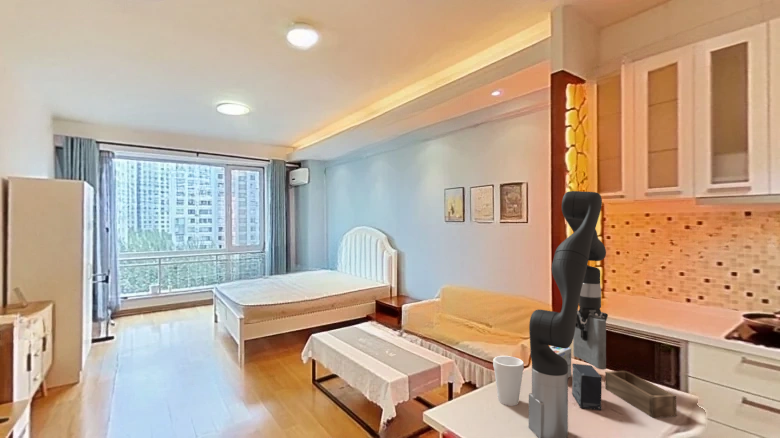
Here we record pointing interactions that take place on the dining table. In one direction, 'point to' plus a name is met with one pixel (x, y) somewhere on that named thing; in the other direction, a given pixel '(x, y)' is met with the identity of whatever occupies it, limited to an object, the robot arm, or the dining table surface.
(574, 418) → the dining table surface
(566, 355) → the light bulb box
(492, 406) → the dining table surface
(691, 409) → the dining table surface
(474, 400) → the dining table surface
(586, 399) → the small box
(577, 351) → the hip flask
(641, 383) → the wooden open tray
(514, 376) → the foam cup
